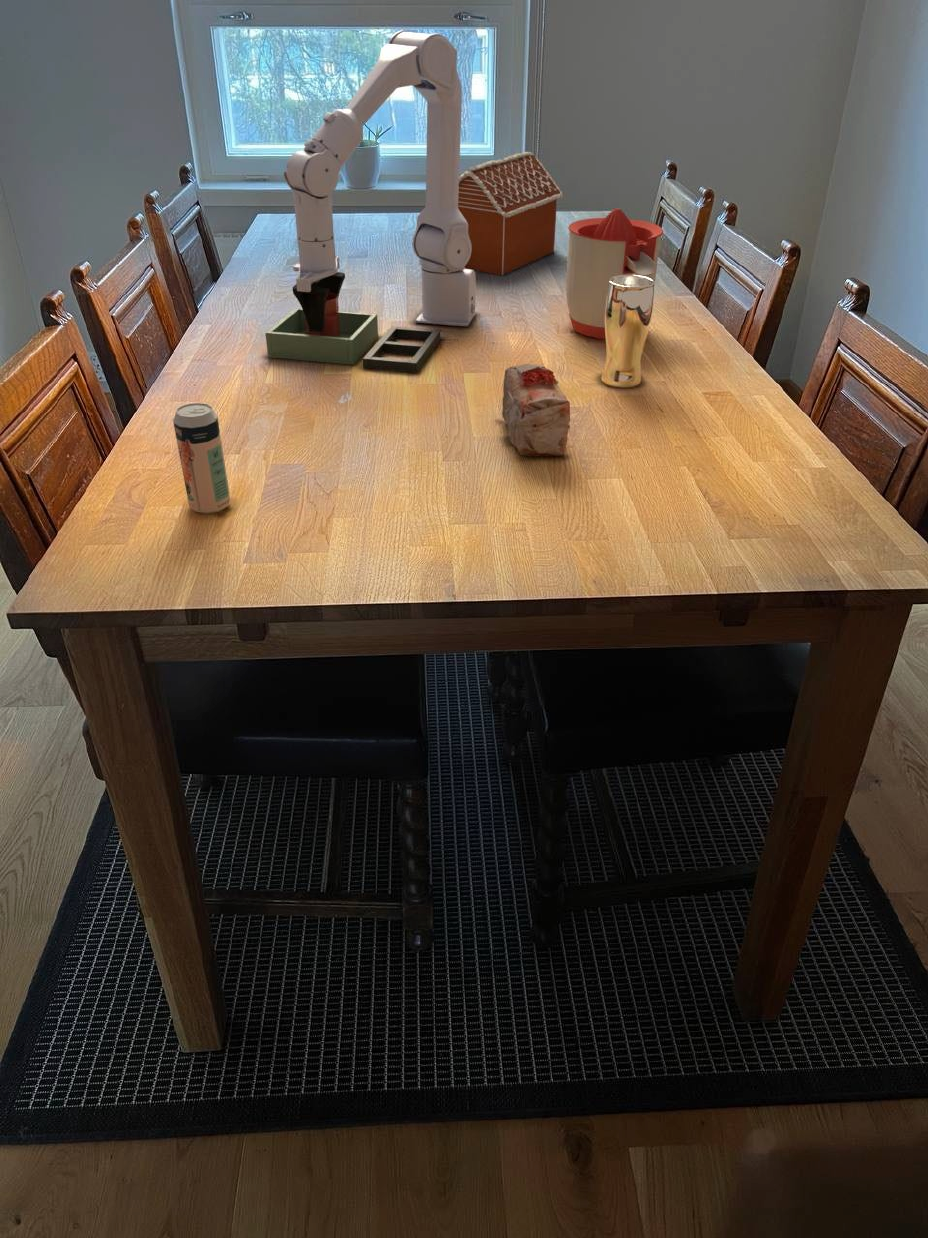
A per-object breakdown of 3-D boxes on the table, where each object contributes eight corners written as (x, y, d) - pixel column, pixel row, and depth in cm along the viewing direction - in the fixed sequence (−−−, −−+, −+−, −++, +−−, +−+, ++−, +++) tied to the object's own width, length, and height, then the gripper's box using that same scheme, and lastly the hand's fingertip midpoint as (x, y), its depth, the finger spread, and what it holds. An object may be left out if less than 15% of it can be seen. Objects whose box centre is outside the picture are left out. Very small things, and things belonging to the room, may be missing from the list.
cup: (344, 335, 154) (342, 292, 149) (334, 345, 149) (330, 302, 145) (313, 332, 154) (310, 290, 150) (302, 343, 150) (298, 299, 146)
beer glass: (647, 375, 143) (659, 276, 134) (639, 391, 138) (651, 289, 129) (603, 369, 145) (613, 272, 136) (593, 385, 140) (603, 284, 131)
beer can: (193, 497, 109) (175, 401, 102) (233, 495, 110) (218, 400, 103) (186, 516, 105) (167, 419, 98) (228, 515, 106) (212, 418, 99)
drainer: (441, 338, 157) (441, 329, 156) (416, 372, 143) (416, 363, 143) (391, 334, 158) (391, 325, 157) (362, 367, 145) (362, 358, 144)
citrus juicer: (599, 353, 151) (612, 224, 140) (544, 323, 164) (551, 202, 152) (674, 339, 157) (693, 215, 145) (616, 311, 170) (628, 194, 158)
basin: (378, 337, 157) (377, 313, 154) (353, 364, 146) (352, 339, 144) (298, 330, 159) (295, 307, 157) (268, 357, 148) (265, 332, 146)
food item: (574, 460, 118) (580, 387, 113) (514, 464, 117) (517, 391, 111) (547, 418, 129) (552, 349, 124) (492, 422, 128) (494, 352, 122)
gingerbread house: (562, 251, 205) (569, 152, 193) (504, 277, 187) (508, 170, 176) (492, 239, 213) (494, 144, 201) (430, 264, 195) (428, 160, 184)
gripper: (307, 225, 149) (315, 309, 157) (274, 246, 137) (283, 336, 145) (349, 227, 148) (354, 312, 156) (318, 249, 136) (325, 340, 144)
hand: (322, 324), depth 150 cm, fingers closed on cup, 5 cm apart
